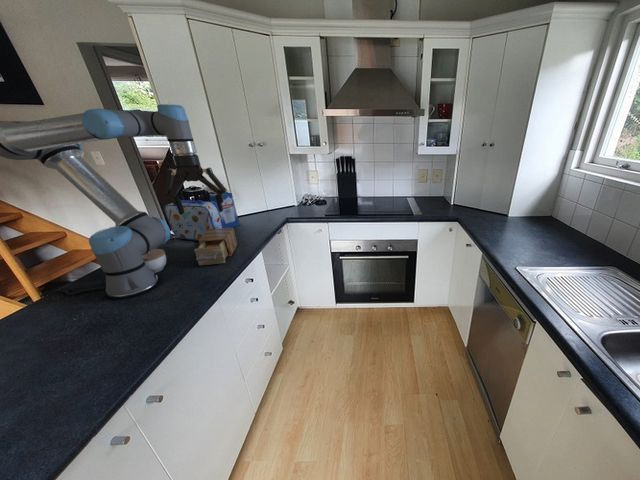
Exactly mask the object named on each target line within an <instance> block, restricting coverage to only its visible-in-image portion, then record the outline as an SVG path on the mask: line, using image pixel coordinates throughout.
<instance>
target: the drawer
mask: <svg viewBox="0 0 640 480" xmlns="http://www.w3.org/2000/svg"><path fill="white" fill-rule="evenodd" d="M217 244H219V247H208V248H206V247H207V245H217ZM193 251H194V254H195V257H196V258H195V259H196V262H197V263H198V265H199V266H208V265H217V264H219V265H220V264H225V263H226V258H227V257H226V256H227V255H228V249H227V245H226V241H225V240H214V241H203V242H202V243H201V244H200V243H199V246H198V247H196V248H194V250H193Z"/></svg>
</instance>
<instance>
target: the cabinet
mask: <svg viewBox="0 0 640 480" xmlns="http://www.w3.org/2000/svg"><path fill="white" fill-rule="evenodd" d="M236 237H237V236H236V233H235V229H234V227H231V228H219V229H208V230H207V231H206V232H205V233H204V235H203V236H202V237H201V238H200V239H199V240H198V243H199V245H200V244H201V243H202V242H203V241H214V240H225V241H226V245H227V249H228V255H227V256H226V258H227V257H232V256H233V254H234V252H235V250H236V248H237V247H238V242H237V238H236Z"/></svg>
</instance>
